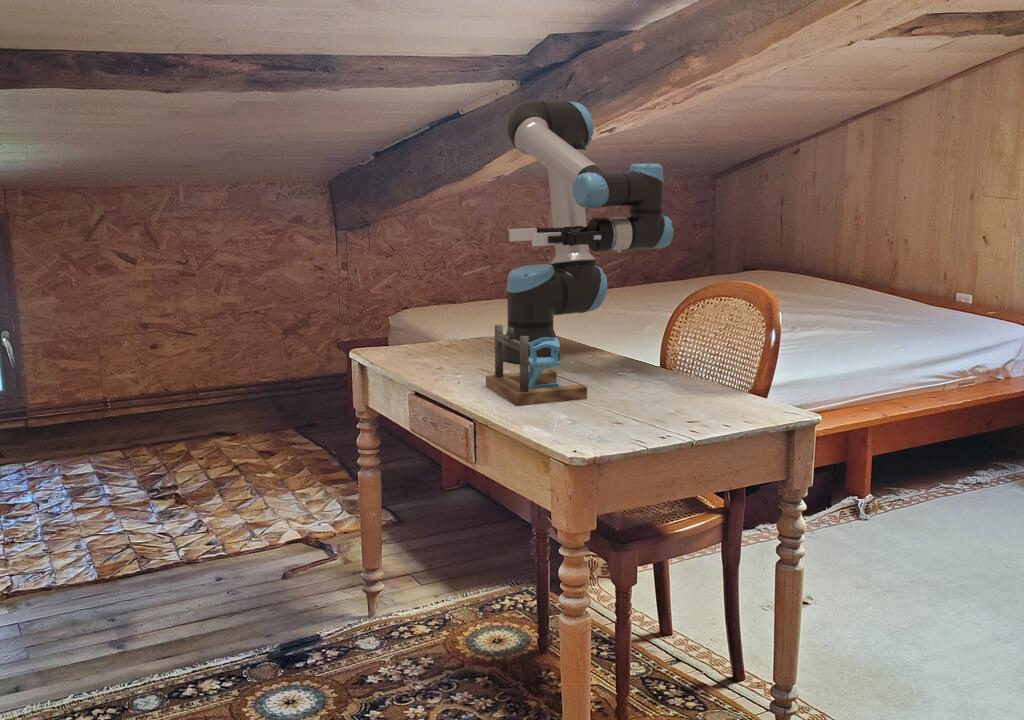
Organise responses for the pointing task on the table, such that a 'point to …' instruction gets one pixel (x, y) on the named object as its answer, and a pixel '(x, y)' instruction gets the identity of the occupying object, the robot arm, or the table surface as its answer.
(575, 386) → the wooden post frame
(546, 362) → the chair
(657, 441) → the table surface
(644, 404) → the table surface
